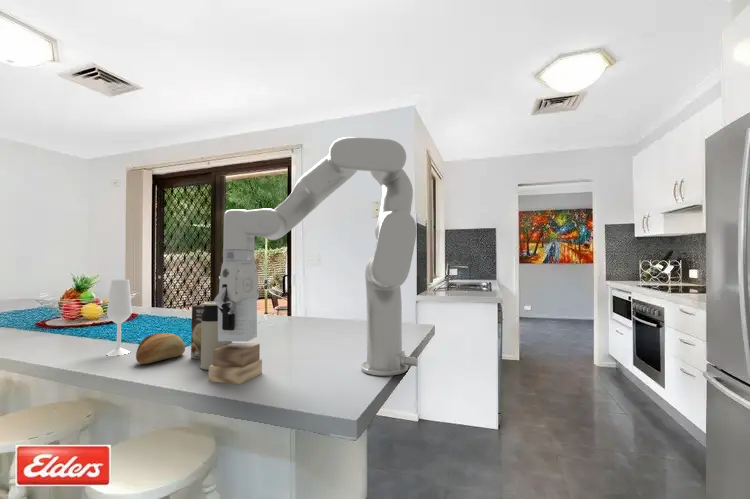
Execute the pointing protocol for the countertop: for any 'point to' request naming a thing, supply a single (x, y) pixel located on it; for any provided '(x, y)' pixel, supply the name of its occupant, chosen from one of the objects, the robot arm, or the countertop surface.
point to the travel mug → (209, 334)
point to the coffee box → (196, 331)
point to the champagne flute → (119, 310)
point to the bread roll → (159, 348)
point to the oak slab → (235, 373)
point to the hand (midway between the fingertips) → (238, 327)
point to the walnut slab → (236, 354)
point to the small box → (240, 322)
